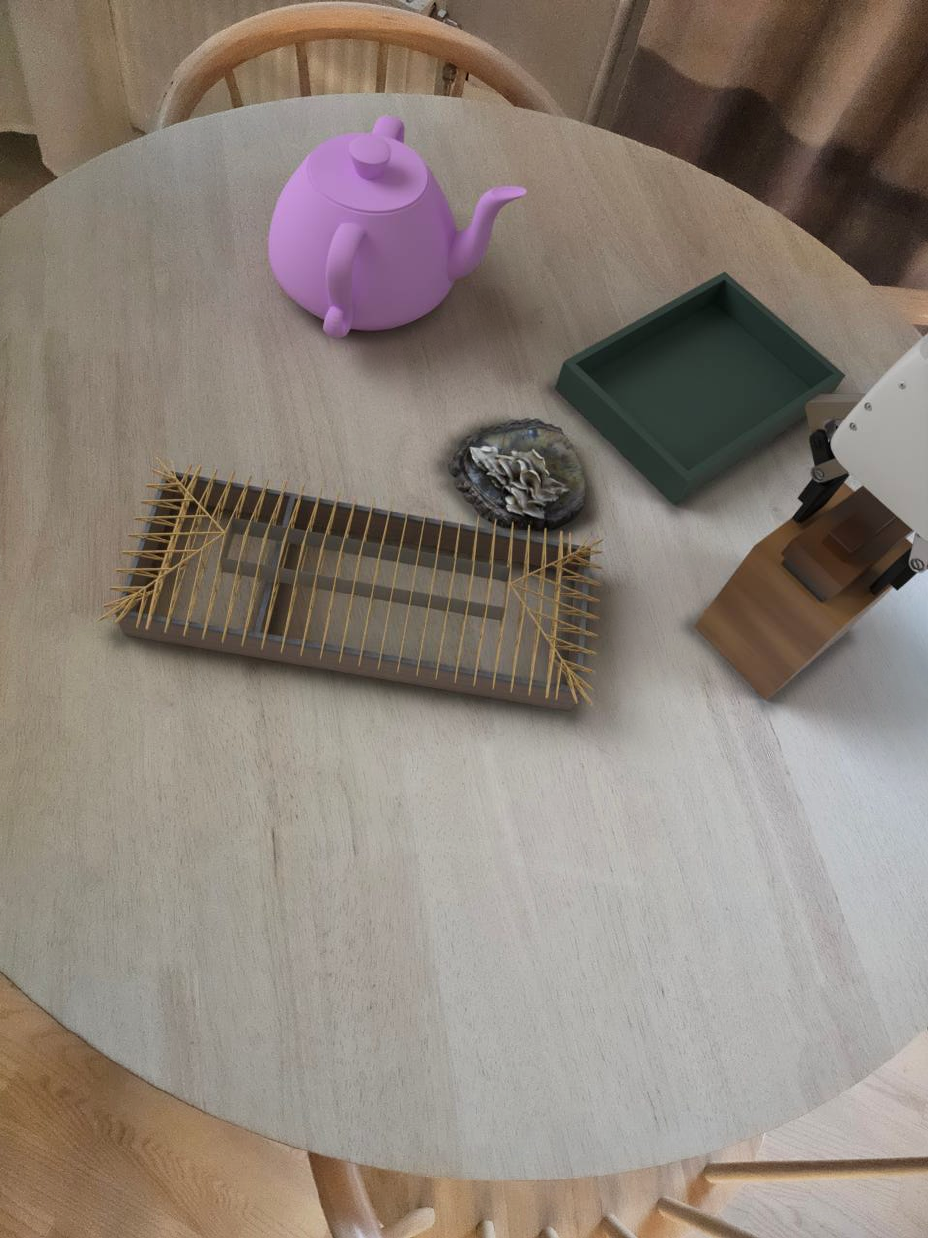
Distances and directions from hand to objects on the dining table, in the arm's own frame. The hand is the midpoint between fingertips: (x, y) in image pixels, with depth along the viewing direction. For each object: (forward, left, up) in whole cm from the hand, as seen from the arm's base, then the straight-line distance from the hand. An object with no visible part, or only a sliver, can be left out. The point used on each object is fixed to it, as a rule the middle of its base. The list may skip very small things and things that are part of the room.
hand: (846, 545), depth 66 cm
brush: (0, 0, -1) cm, 1 cm away
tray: (-13, -21, -13) cm, 28 cm away
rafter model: (+25, -21, -13) cm, 35 cm away
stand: (0, 0, -13) cm, 13 cm away
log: (+7, -23, -13) cm, 27 cm away
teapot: (+3, -47, -13) cm, 49 cm away
